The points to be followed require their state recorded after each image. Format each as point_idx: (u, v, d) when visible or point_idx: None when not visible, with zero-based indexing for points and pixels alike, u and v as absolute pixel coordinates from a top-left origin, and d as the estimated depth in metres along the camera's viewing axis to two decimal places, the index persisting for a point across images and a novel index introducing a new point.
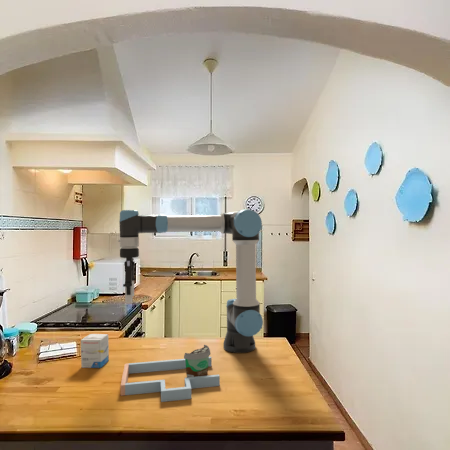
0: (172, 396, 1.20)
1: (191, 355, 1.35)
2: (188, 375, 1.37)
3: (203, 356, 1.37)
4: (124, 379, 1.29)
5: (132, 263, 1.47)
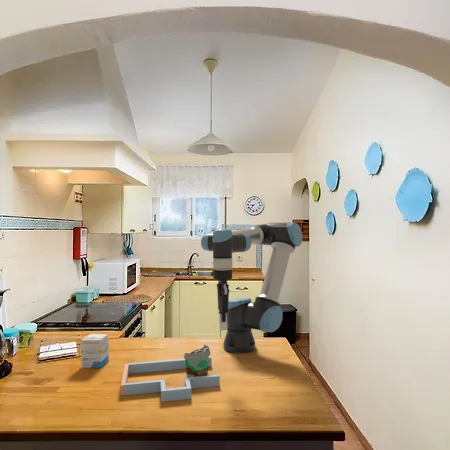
0: (172, 396, 1.20)
1: (191, 355, 1.35)
2: (188, 375, 1.37)
3: (203, 356, 1.37)
4: (124, 379, 1.29)
5: (226, 287, 1.39)
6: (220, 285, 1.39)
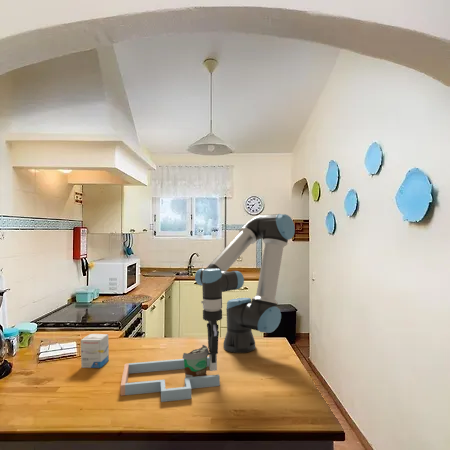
0: (172, 396, 1.20)
1: (190, 355, 1.35)
2: (187, 375, 1.37)
3: (202, 356, 1.37)
4: (124, 379, 1.29)
5: (216, 327, 1.39)
6: (210, 326, 1.38)
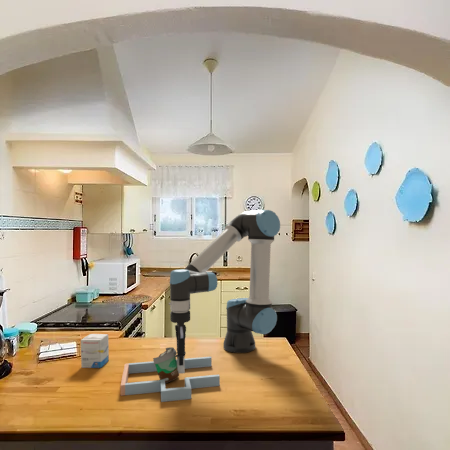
0: (172, 396, 1.20)
1: (161, 357, 1.32)
2: None
3: (172, 355, 1.35)
4: (124, 379, 1.29)
5: (184, 329, 1.36)
6: (177, 328, 1.36)
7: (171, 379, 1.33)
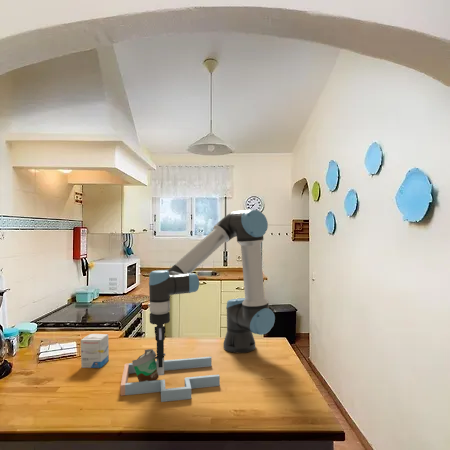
0: (172, 396, 1.20)
1: (140, 360, 1.30)
2: None
3: (151, 356, 1.33)
4: (124, 379, 1.29)
5: (163, 331, 1.35)
6: (156, 329, 1.34)
7: None
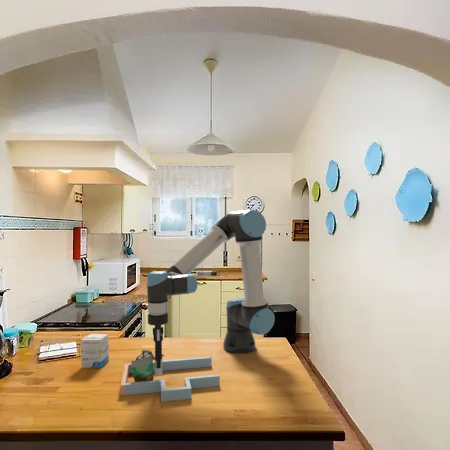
0: (172, 396, 1.20)
1: (139, 361, 1.29)
2: None
3: (150, 359, 1.33)
4: (124, 379, 1.29)
5: (161, 332, 1.35)
6: (154, 330, 1.34)
7: None
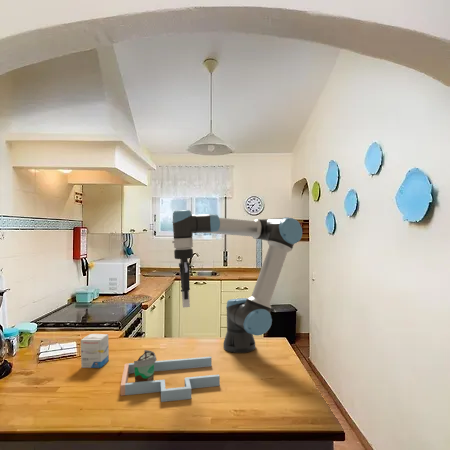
0: (172, 396, 1.20)
1: (142, 362, 1.29)
2: None
3: (153, 361, 1.32)
4: (124, 379, 1.29)
5: (188, 265, 1.44)
6: (181, 264, 1.44)
7: None
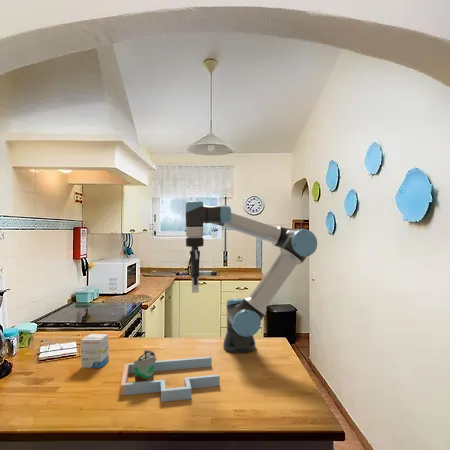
0: (172, 396, 1.20)
1: (142, 362, 1.29)
2: None
3: (153, 361, 1.32)
4: (124, 379, 1.29)
5: (198, 253, 1.53)
6: (192, 251, 1.53)
7: None
